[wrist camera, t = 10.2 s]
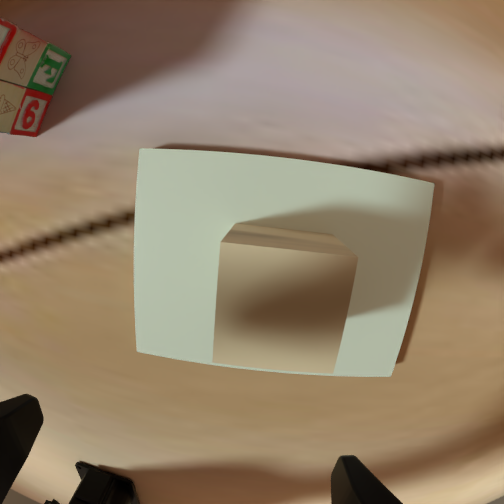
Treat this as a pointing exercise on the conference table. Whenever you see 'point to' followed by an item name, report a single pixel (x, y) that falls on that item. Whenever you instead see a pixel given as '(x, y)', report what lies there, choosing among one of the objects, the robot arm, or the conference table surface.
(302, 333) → the beige cube
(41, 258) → the conference table surface
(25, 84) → the stack of blocks
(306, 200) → the sage board
